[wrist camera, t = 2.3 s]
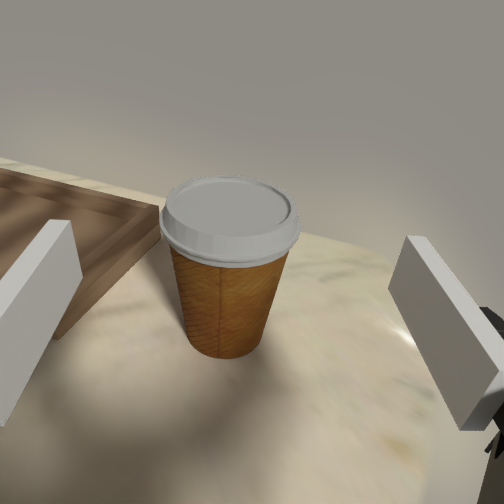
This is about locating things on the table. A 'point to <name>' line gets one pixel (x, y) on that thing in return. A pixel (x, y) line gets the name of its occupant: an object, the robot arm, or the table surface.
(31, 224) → the shallow wooden crate
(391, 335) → the table surface
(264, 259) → the disposable coffee cup
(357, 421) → the table surface
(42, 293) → the robot arm
